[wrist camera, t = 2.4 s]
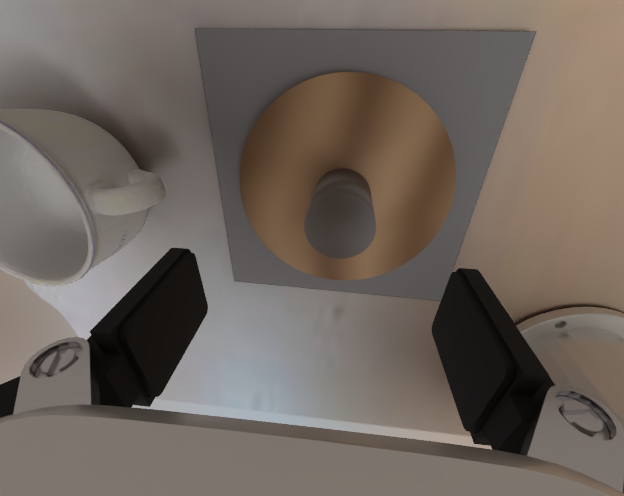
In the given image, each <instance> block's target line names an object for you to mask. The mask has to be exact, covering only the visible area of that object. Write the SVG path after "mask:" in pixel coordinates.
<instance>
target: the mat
mask: <svg viewBox="0 0 624 496" xmlns="http://www.w3.org/2000/svg"><path fill="white" fill-rule="evenodd" d="M195 33H196V39H197V46H198V52H199V58H200V65H201V71H202V77H203V84H204V90H205V97H206V103H207V109H208V116H209V122H210V128H211V135H212V141H213V147H214V154H215V160H216V167H217V173H218V179H219V186H220V192H221V198H222V205H223V211H224V218H225V224H226V230H227V237H228V243H229V249H230V256H231V262H232V268H233V275H234V281H238V282H248V283H258V284H269V285H279V286H290V287H300V288H310V289H321V290H331V291H342V292H352V293H362V294H373V295H383V296H394V297H404V298H414V299H425V300H435V301H441V300H442V297H443V294H444V291H445V289H446V286H447V283H448V280H449V278H450V275H451V273H452V270H453V267H454V264H455V261H456V259H457V256H458V253H459V250H460V247H461V244H462V242H463V239H464V236H465V233H466V230H467V227H468V224H469V222H470V219H471V216H472V213H473V210H474V207H475V205H476V202H477V199H478V196H479V193H480V190H481V188H482V185H483V182H484V179H485V176H486V173H487V171H488V168H489V165H490V162H491V159H492V156H493V153H494V151H495V148H496V145H497V142H498V139H499V136H500V134H501V131H502V128H503V125H504V122H505V119H506V117H507V114H508V111H509V108H510V105H511V102H512V100H513V97H514V94H515V91H516V88H517V85H518V83H519V80H520V77H521V74H522V71H523V68H524V65H525V63H526V60H527V57H528V54H529V51H530V48H531V46H532V43H533V40H534V37H535V34H536V32H529V31H423V30H318V29H212V28H195ZM337 72H361V73H370V74H374V75H378V76H382V77H385V78H388V79H390V80H393V81H395V82H397V83H400V84H402V85H403V86H405V87H407V88H408V89H410V90H411V91H413V92H414V93H416V94H417V95H418V96H419V97H420V98H422V99H423V100H424V101H425V102H426V103H427V104H428V105H429V106H430V107H431V108H432V110H433V111H434V112H435V113H436V115H437V116H438V117H439V119H440V120H441V122H442V124H443V126H444V127H445V129H446V131H447V133H448V136H449V139H450V141H451V144H452V147H453V152H454V156H455V163H456V184H455V192H454V197H453V201H452V205H451V207H450V210H449V213H448V215H447V217H446V219H445V221H444V223H443V225H442V227H441V229H440V230H439V231H438V233H437V234H436V236H435V237H434V238H433V240H432V241H431V242H430V243H429V244H428V245H427V246H426V247H425V248H424V249H423V250H422V251H421V252H420V253H419V254H418V255H416V256H415V257H414V258H413V259H411V260H410V261H408V262H407V263H405V264H404V265H402V266H400V267H398V268H396V269H394V270H392V271H390V272H387V273H385V274H382V275H379V276H375V277H372V278H367V279H361V280H348V281H345V280H331V279H324V278H320V277H316V276H312V275H310V274H307V273H304V272H302V271H300V270H298V269H296V268H294V267H292V266H290V265H288V264H287V263H285V262H284V261H282V260H281V259H280V258H278V257H277V256H276V255H275V254H273V253H272V252H271V251H270V250H269V249H268V248H267V247H266V246H265V245H264V243H263V242H262V241H261V239H260V238H259V237H258V236H257V234H256V232H255V231H254V229H253V228H252V226H251V224H250V222H249V220H248V217H247V215H246V212H245V209H244V206H243V203H242V198H241V192H240V180H239V175H240V163H241V158H242V154H243V150H244V147H245V144H246V141H247V139H248V136H249V134H250V132H251V130H252V129H253V127H254V125H255V123H256V122H257V120H258V119H259V118H260V116H261V115H262V113H263V112H264V111H265V110H266V109H267V108H268V107H269V106H270V105H271V104H272V103H273V102H274V101H275V100H276V99H277V98H278V97H280V96H281V95H282V94H284V93H285V92H286V91H287V90H289V89H291V88H293V87H294V86H296V85H298V84H300V83H302V82H304V81H307V80H309V79H312V78H315V77H317V76H321V75H326V74H331V73H337Z"/></svg>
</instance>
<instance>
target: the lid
mask: <svg viewBox="0 0 624 496" xmlns="http://www.w3.org/2000/svg"><path fill="white" fill-rule="evenodd" d="M239 180H240V192H241V198H242V203H243V206H244V209H245V212H246V215H247V217H248V220H249V222H250V224H251V226H252V228H253V229H254V231H255V232H256V234H257V236H258V237H259V238H260V239H261V241H262V242H263V243H264V245H265V246H266V247H267V248H268V249H269V250H270V251H271V252H272V253H273V254H275V255H276V256H277V257H278V258H280V259H281V260H282V261H284V262H285V263H287V264H288V265H290V266H292V267H294V268H296V269H298V270H300V271H302V272H304V273H307V274H310V275H312V276H316V277H320V278H324V279H331V280H345V281H348V280H361V279H367V278H372V277H375V276H379V275H382V274H385V273H387V272H390V271H392V270H394V269H396V268H398V267H400V266H402V265H404V264H405V263H407V262H408V261H410V260H411V259H413V258H414V257H415V256H416V255H418V254H419V253H420V252H421V251H422V250H423V249H424V248H425V247H426V246H427V245H428V244H429V243H430V242H431V241H432V240H433V238H434V237H435V236H436V234H437V233H438V231H439V230H440V229H441V227H442V225H443V223H444V221H445V219H446V217H447V215H448V213H449V210H450V207H451V205H452V201H453V197H454V192H455V184H456V163H455V156H454V152H453V147H452V144H451V141H450V139H449V136H448V133H447V131H446V129H445V127H444V126H443V124H442V122H441V120H440V119H439V117H438V116H437V115H436V113H435V112H434V111H433V110H432V108H431V107H430V106H429V105H428V104H427V103H426V102H425V101H424V100H423V99H422V98H420V97H419V96H418V95H417V94H416V93H414V92H413V91H411V90H410V89H408V88H407V87H405V86H403V85H402V84H400V83H397V82H395V81H393V80H390V79H388V78H385V77H382V76H378V75H374V74H370V73H361V72H337V73H331V74H326V75H321V76H317V77H315V78H312V79H309V80H307V81H304V82H302V83H300V84H298V85H296V86H294V87H293V88H291V89H289V90H287V91H286V92H285V93H284V94H282V95H281V96H280V97H278V98H277V99H276V100H275V101H274V102H273V103H272V104H271V105H270V106H269V107H268V108H267V109H266V110H265V111H264V112H263V113H262V115H261V116H260V118H259V119H258V120H257V122H256V123H255V125H254V127H253V129H252V130H251V132H250V134H249V136H248V139H247V141H246V144H245V147H244V150H243V154H242V158H241V163H240V175H239Z"/></svg>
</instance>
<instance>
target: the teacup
mask: <svg viewBox="0 0 624 496" xmlns="http://www.w3.org/2000/svg"><path fill="white" fill-rule="evenodd" d="M164 198H165V188H164V185H163V183H162V181H161V179H160V177H159V176H158V175H157V174H155V173H152V172H145V171H144V170H141V169H139V167H138V166H137V164H136V162H135V161H134V159H133V158H132V156H131V155H130V154H129V153H128V151H127V150H126V149H125V148H124V147H123V146H122V144H121V143H120V142H119V141H118V140H116V139H115V138H114V137H113V136H112V135H111V134H109V133H108V132H107V131H105V130H104V129H102V128H101V127H99V126H98V125H96V124H94V123H92V122H90V121H88V120H86V119H84V118H81V117H79V116H76V115H73V114H69V113H65V112H61V111H54V110H44V109H0V270H2V271H4V272H6V273H8V274H10V275H12V276H14V277H17V278H19V279H21V280H24V281H28V282H31V283H34V284H39V285H45V286H61V285H64V284H68V283H72V282H74V281H77V280H79V279H80V278H82V277H83V276H84V275H85V274H86V273H87V272H88V271H89V270H90V269H91V268H93V267H94V266H96V265H98V264H99V263H101V262H102V261H104V260H105V259H107V258H108V257H110V256H111V255H113V254H114V253H116V252H117V251H118V250H120V249H121V248H123V247H124V246H125V245H126V244H128V243H129V242H130V241H131V240H132V239H134V237H135V236H136V235H137V234H138V233H139V232H140V230H141V229H142V227H143V225H144V223H145V221H146V218H147V214H148V208H150V207H152V206H154V205H156V204H158V203H159V202H161V201H162V200H163V199H164Z"/></svg>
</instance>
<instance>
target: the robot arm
mask: <svg viewBox="0 0 624 496" xmlns="http://www.w3.org/2000/svg"><path fill="white" fill-rule="evenodd" d="M207 310H208V305H207V301H206V297H205V293H204V289H203V285H202V281H201V277H200V273H199V269H198V265H197V261H196V257H195V254H194V253H191V251H190V250H189V249H183V248H171V249H170V250H169V251H168V252H167V253H166V254H165V255H164V256H163V257H162V258H161V259H160V260H159V261H158V262H157V263H156V264H155V265H154V266H153V267H152V268H151V269H150V270H149V271H148V273H147V274H146V275H145V276H144V277H143V278H142V279H141V280H140V281H139V282H138V283H137V284H136V285H135V286H134V287H133V288H132V289H131V290H130V291H129V292H128V293H127V294H126V295H125V296H124V297H123V298H122V299H121V300H120V301H119V302H118V303H117V304H116V305H115V306H114V307H113V308H112V309H111V310H110V311H109V312H108V314H107V315H106V316H105V317H104V318H103V319H102V320H101V321H100V322H99V323H98V324H97V325H96V326H95V327H94V328H93V329H92V330H91V331H90V333H91V336H90V337H89V338H88V339H87V341H86V340H85V339H84V338H79V337H73V338H66V339H62V340H59V341H56V342H54V343H52V344H50V345H48V346H46V347H44V348H43V349H41V350H40V351H38V352H37V353H36V354H35V355H33V356H32V357H31V358H30V359H29V361H28V362H27V363H26V364H25V365H24V368H23V370H22V372H21V376H20V377H17V378H15V379H12V380H10V381H8V382H6V383H3V384H1V385H0V496H624V313H621V312H619V311H615V310H611V309H607V308H599V307H572V308H565V309H558V310H554V311H550V312H546V313H543V314H539V315H537V316H534V317H532V318H529V319H527V320H525V321H523V322H521V323H519V324H517V325H515V324H514V322H513V321H512V319H511V318H510V316H509V315H508V313H507V312H506V310H505V309H504V307H503V306H502V304H501V303H500V301H499V300H498V299H497V297H496V296H495V294H494V293H493V291H492V290H491V288H490V287H489V285H488V284H487V282H486V281H485V279H484V278H483V276H482V275H481V273H480V272H479V271H478V270H476V269H463V268H459V269H458V270H457V271H456V272H452V273H451V275H450V278H449V280H448V283H447V286H446V289H445V291H444V294H443V297H442V300H441V302H440V305H439V308H438V311H437V313H436V316H435V319H434V322H433V325H432V334H433V338H434V341H435V344H436V347H437V350H438V353H439V356H440V359H441V361H442V364H443V367H444V370H445V373H446V376H447V379H448V382H449V385H450V388H451V391H452V394H453V397H454V400H455V403H456V406H457V409H458V412H459V415H460V418H461V421H462V424H463V426H464V428H465V430H466V431H470V433H471V436H472V439H473V442H474V444H481V445H490V446H491V447H492V450H490V449H483V448H475V447H469V446H461V445H454V444H447V443H439V442H431V441H423V440H415V439H407V438H398V437H390V436H382V435H373V434H365V433H357V432H348V431H340V430H331V429H322V428H314V427H305V426H297V425H288V424H279V423H271V422H262V421H253V420H243V419H235V418H226V417H216V416H208V415H198V414H189V413H180V412H171V411H162V410H151V409H141V408H131V407H132V405H133V404H134V405H140V406H150V405H151V404H152V402H153V400H154V398H155V397H158V396H159V395H160V394H161V393H162V392H163V390H164V388H165V386H166V385H167V383H168V381H169V379H170V378H171V376H172V374H173V372H174V371H175V369H176V367H177V365H178V364H179V362H180V360H181V358H182V356H183V355H184V353H185V351H186V349H187V348H188V346H189V344H190V342H191V341H192V339H193V337H194V335H195V333H196V332H197V330H198V328H199V326H200V325H201V323H202V321H203V319H204V318H205V316H206V314H207Z"/></svg>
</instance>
